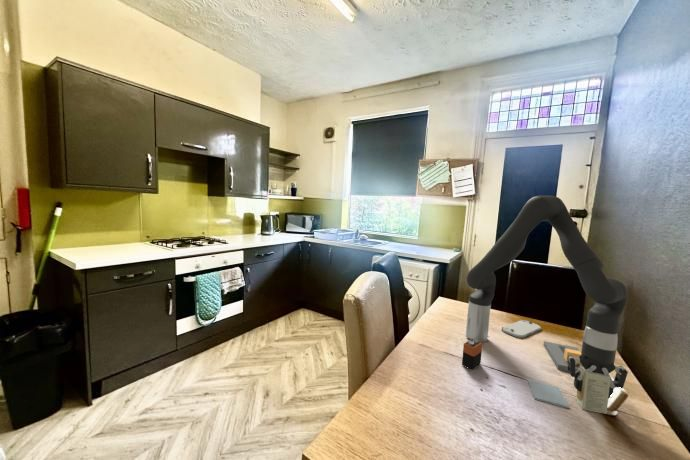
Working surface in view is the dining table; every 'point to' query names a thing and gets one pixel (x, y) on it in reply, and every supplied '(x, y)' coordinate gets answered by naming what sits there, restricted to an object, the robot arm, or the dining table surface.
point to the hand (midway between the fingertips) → (592, 393)
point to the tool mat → (547, 393)
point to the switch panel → (559, 355)
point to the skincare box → (594, 392)
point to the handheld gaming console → (521, 328)
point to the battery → (472, 354)
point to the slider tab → (572, 354)
